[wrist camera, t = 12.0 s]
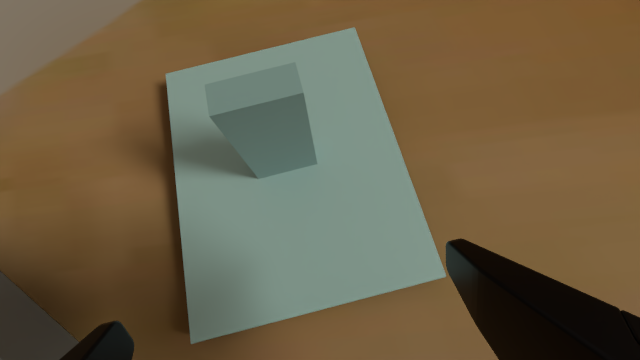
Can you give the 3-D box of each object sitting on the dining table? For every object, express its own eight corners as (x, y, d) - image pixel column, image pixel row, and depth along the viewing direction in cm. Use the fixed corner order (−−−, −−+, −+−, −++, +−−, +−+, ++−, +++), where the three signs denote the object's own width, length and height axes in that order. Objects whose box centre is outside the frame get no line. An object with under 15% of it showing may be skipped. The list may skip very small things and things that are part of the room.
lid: (437, 277, 19) (528, 273, 10) (203, 338, 19) (71, 393, 9) (353, 42, 25) (361, -94, 16) (176, 86, 25) (81, -27, 16)
